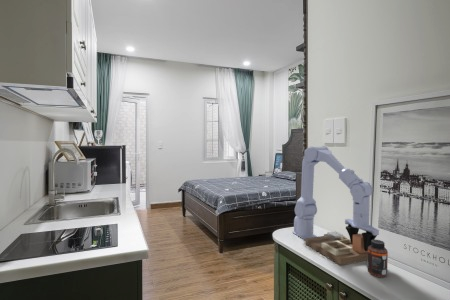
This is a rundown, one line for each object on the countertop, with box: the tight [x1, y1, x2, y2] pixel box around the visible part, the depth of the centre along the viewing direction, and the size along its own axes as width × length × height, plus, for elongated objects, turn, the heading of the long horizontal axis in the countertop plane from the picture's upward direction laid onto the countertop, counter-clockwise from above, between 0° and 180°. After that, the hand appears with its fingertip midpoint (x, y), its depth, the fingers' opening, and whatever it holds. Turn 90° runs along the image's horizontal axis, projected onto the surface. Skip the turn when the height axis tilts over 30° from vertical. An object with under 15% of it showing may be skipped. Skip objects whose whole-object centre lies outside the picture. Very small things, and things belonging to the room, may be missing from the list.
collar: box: [322, 240, 353, 256], centre depth 104 cm, size 8×8×2 cm
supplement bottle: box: [367, 239, 389, 278], centre depth 91 cm, size 6×6×11 cm
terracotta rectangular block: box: [352, 233, 368, 253], centre depth 104 cm, size 4×4×6 cm
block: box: [326, 231, 344, 241], centre depth 114 cm, size 4×4×3 cm
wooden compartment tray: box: [305, 233, 368, 266], centre depth 110 cm, size 21×16×4 cm
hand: (360, 247), depth 104 cm, fingers open, 6 cm apart
